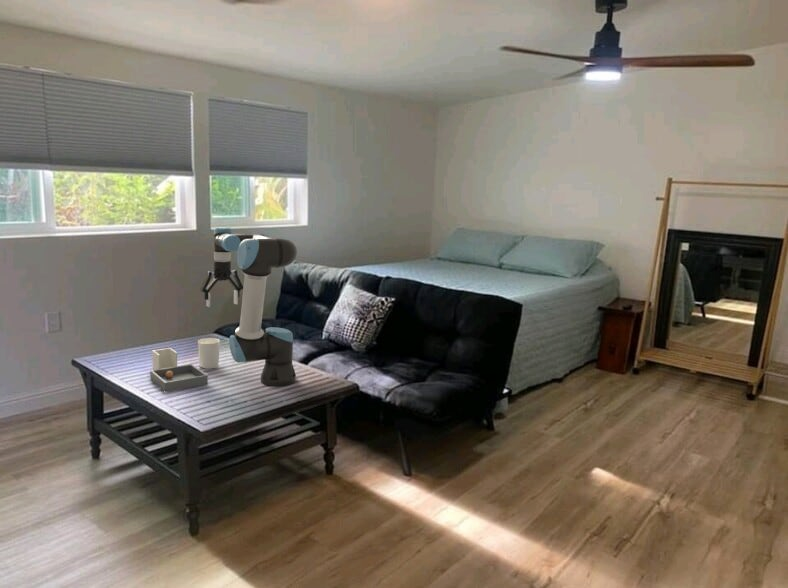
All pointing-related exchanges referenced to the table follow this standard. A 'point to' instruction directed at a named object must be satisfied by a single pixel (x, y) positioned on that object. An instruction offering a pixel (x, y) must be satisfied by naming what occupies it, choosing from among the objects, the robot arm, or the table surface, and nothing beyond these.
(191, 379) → the tray
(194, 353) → the table surface
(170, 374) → the ball
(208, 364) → the candle holder
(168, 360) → the cream open-top bin
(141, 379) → the table surface
